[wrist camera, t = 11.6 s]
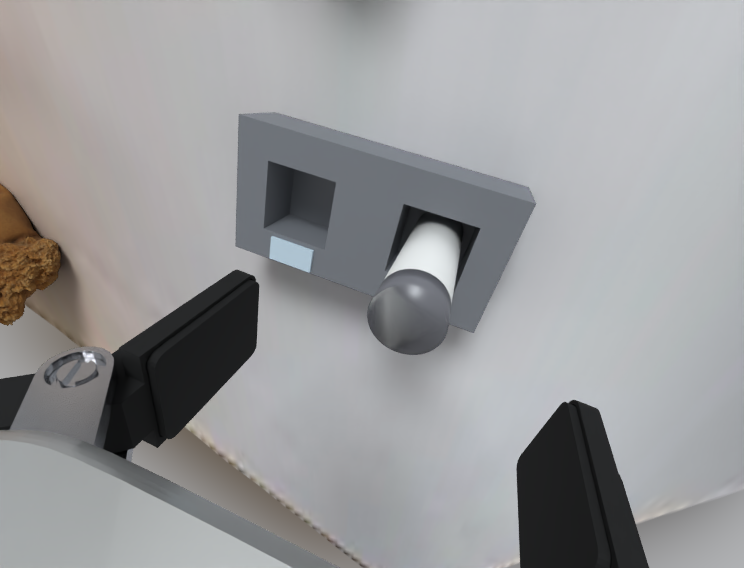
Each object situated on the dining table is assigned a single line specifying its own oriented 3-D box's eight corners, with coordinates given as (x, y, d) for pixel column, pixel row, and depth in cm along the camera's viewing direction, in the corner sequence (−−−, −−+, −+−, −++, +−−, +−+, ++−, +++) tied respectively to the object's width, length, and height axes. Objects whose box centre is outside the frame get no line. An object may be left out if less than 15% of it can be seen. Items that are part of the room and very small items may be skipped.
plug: (471, 218, 22) (460, 302, 13) (453, 262, 24) (432, 365, 14) (422, 202, 23) (377, 273, 13) (408, 247, 24) (360, 338, 15)
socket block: (528, 187, 21) (536, 204, 17) (475, 301, 25) (473, 334, 22) (275, 112, 23) (236, 114, 20) (266, 228, 28) (233, 247, 24)
